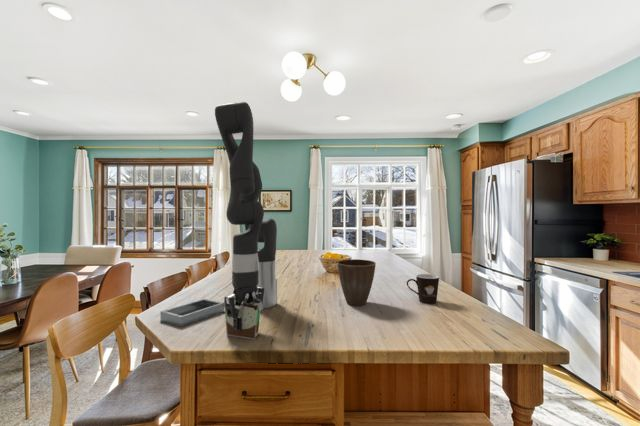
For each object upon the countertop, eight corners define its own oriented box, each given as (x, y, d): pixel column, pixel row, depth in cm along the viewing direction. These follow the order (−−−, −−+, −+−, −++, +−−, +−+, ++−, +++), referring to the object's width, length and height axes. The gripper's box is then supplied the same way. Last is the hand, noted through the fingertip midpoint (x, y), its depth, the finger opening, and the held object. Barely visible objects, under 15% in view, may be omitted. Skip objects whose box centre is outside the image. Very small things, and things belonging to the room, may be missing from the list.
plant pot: (383, 303, 115) (383, 262, 115) (359, 312, 105) (359, 267, 105) (353, 295, 126) (353, 258, 126) (329, 303, 115) (329, 262, 115)
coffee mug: (441, 300, 118) (441, 275, 118) (437, 306, 111) (436, 279, 111) (412, 296, 124) (411, 272, 124) (406, 301, 117) (405, 276, 117)
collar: (204, 306, 112) (204, 298, 112) (224, 311, 107) (224, 303, 107) (160, 320, 98) (160, 311, 98) (181, 326, 92) (181, 317, 92)
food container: (270, 332, 87) (270, 298, 88) (259, 340, 82) (259, 304, 82) (235, 327, 91) (235, 294, 92) (222, 334, 86) (222, 299, 86)
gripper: (253, 264, 94) (253, 317, 94) (216, 271, 82) (216, 333, 82) (271, 266, 90) (271, 322, 90) (236, 274, 78) (236, 338, 78)
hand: (245, 326), depth 86 cm, fingers closed on food container, 5 cm apart
